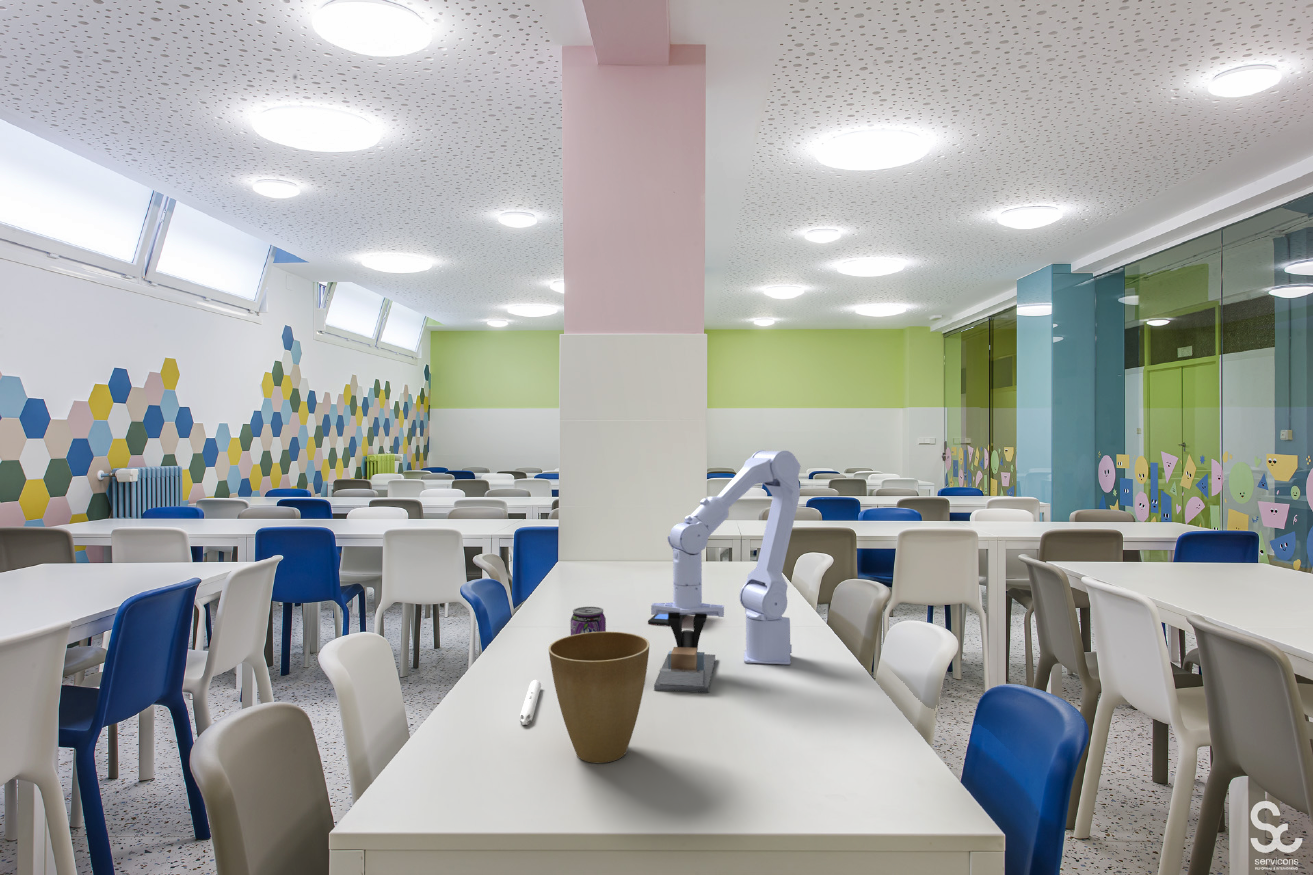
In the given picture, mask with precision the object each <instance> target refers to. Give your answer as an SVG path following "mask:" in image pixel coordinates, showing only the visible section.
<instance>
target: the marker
mask: <svg viewBox="0 0 1313 875" xmlns="http://www.w3.org/2000/svg"><path fill="white" fill-rule="evenodd" d="M541 687H542V684H541V681H540V680H538V679H534V680H532V681H530V683H529V686H528V688H527V692H526V696H525V698H524V702H523V704H522V708H521V711H520V715H519V722H520V724H521V725H522V726H524V725H527V726H528V725H529V724H531V723H532V721H533V719H534V718H533V717H534V714H535V710H536V707H537V702H538V699H539V696H540V691H541V689H542V688H541Z"/></svg>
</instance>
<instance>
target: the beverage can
mask: <svg viewBox="0 0 1313 875" xmlns="http://www.w3.org/2000/svg"><path fill="white" fill-rule="evenodd" d="M606 619H607V618H606V616H605V614H604V608H602V607H598V606H581V607H576V608H574V609H572V616H571V618H570V636H571V635H576V634H582V633H589V632H607V629H606V627H607V622H606V621H607V620H606Z"/></svg>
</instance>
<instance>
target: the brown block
mask: <svg viewBox="0 0 1313 875" xmlns="http://www.w3.org/2000/svg"><path fill="white" fill-rule="evenodd" d="M671 651H672V653H671V669H684V670H697V652H698V650H697V648H688V647H677V646H673V649H672V650H671Z"/></svg>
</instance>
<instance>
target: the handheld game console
mask: <svg viewBox="0 0 1313 875" xmlns="http://www.w3.org/2000/svg"><path fill="white" fill-rule="evenodd" d="M687 616H688V615H682V620H683V619H685V617H687ZM647 624H648V625H649V626H660V627H661V626H665V627H670V625H669V623H668V614H657V615H653V616H652V617H650V619H648V621H647Z"/></svg>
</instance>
